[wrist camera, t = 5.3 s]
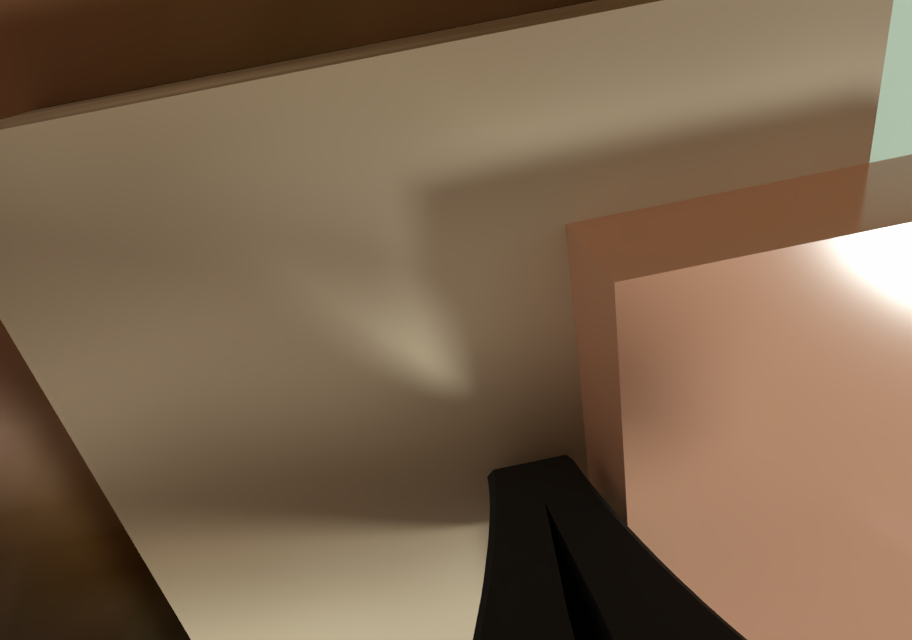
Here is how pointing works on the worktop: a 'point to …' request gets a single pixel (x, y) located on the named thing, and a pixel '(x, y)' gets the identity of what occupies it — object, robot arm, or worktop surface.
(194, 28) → the worktop surface
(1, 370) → the worktop surface
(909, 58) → the mat
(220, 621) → the tan tray
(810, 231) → the tile
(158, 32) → the worktop surface
